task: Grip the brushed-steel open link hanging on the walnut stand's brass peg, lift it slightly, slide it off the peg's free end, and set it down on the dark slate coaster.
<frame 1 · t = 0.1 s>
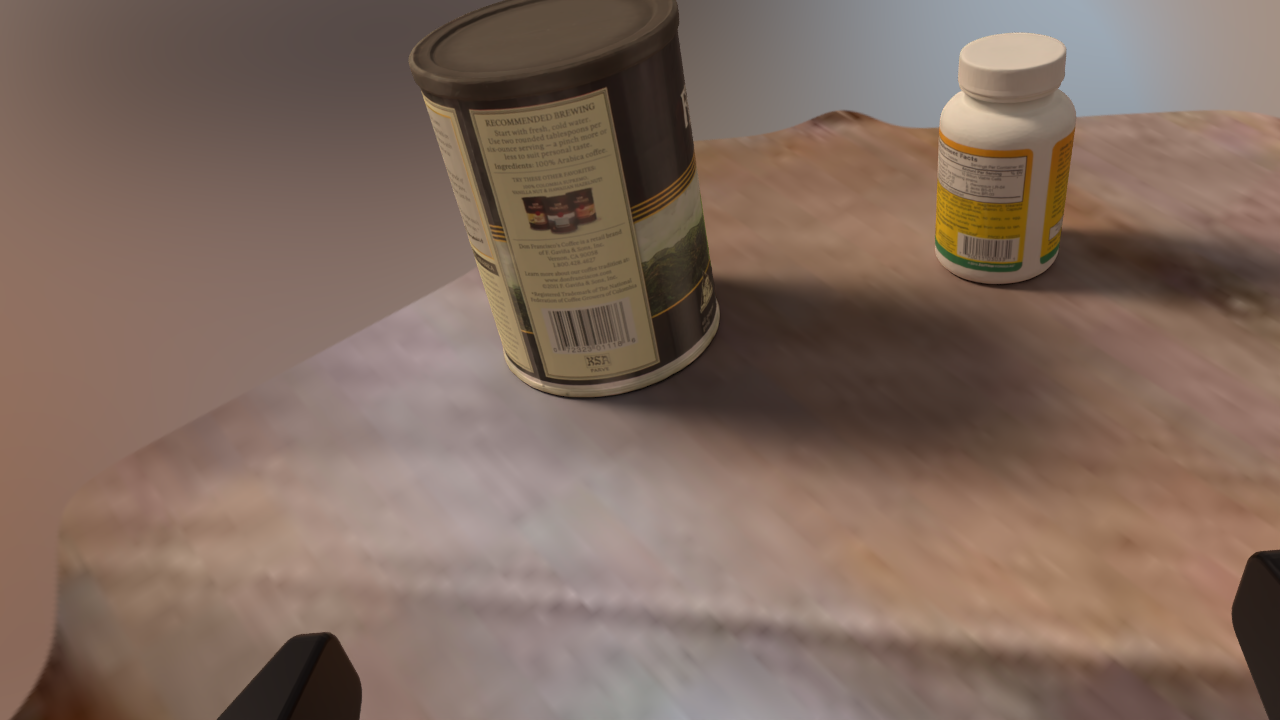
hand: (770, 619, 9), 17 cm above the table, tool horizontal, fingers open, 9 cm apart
supplement bottle: (995, 259, 43), on the table
coffee can: (610, 332, 44), on the table
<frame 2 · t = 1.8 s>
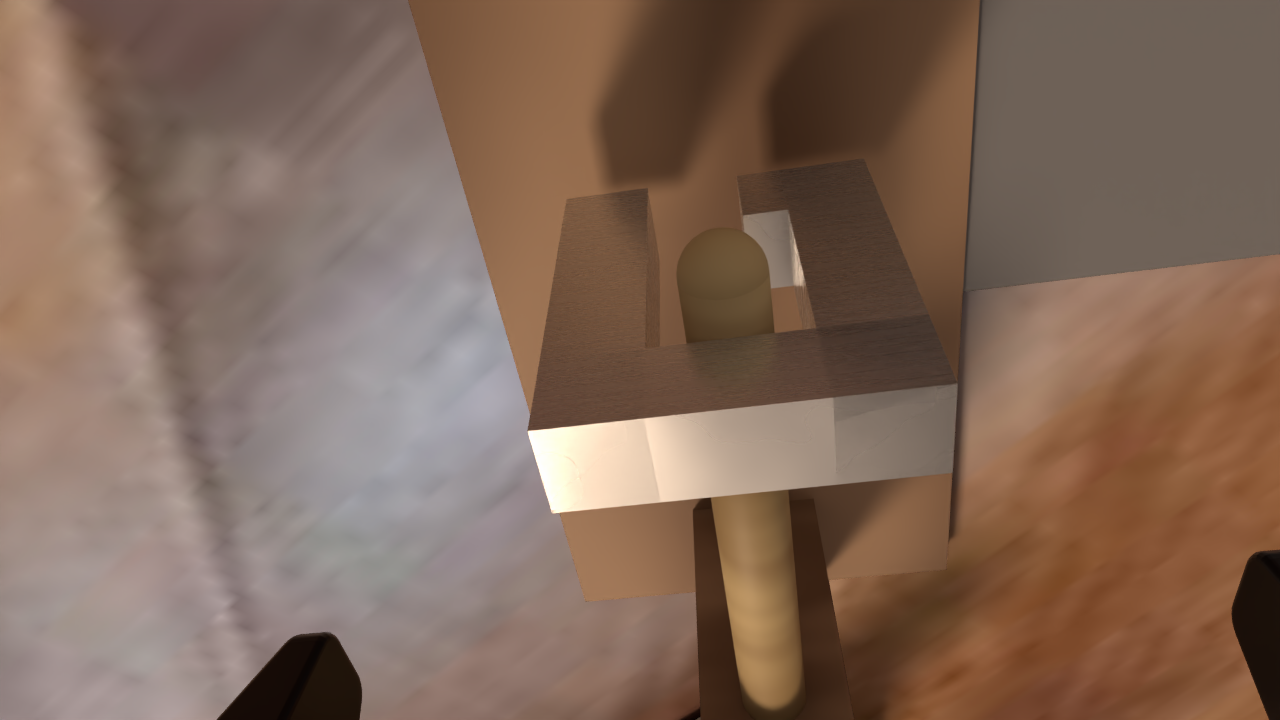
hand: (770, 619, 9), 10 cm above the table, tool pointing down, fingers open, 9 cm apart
link stand: (731, 328, 19), on the table
slate coaster: (1180, 28, 16), on the table
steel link: (717, 215, 16), point 2 cm above the table, touching link stand
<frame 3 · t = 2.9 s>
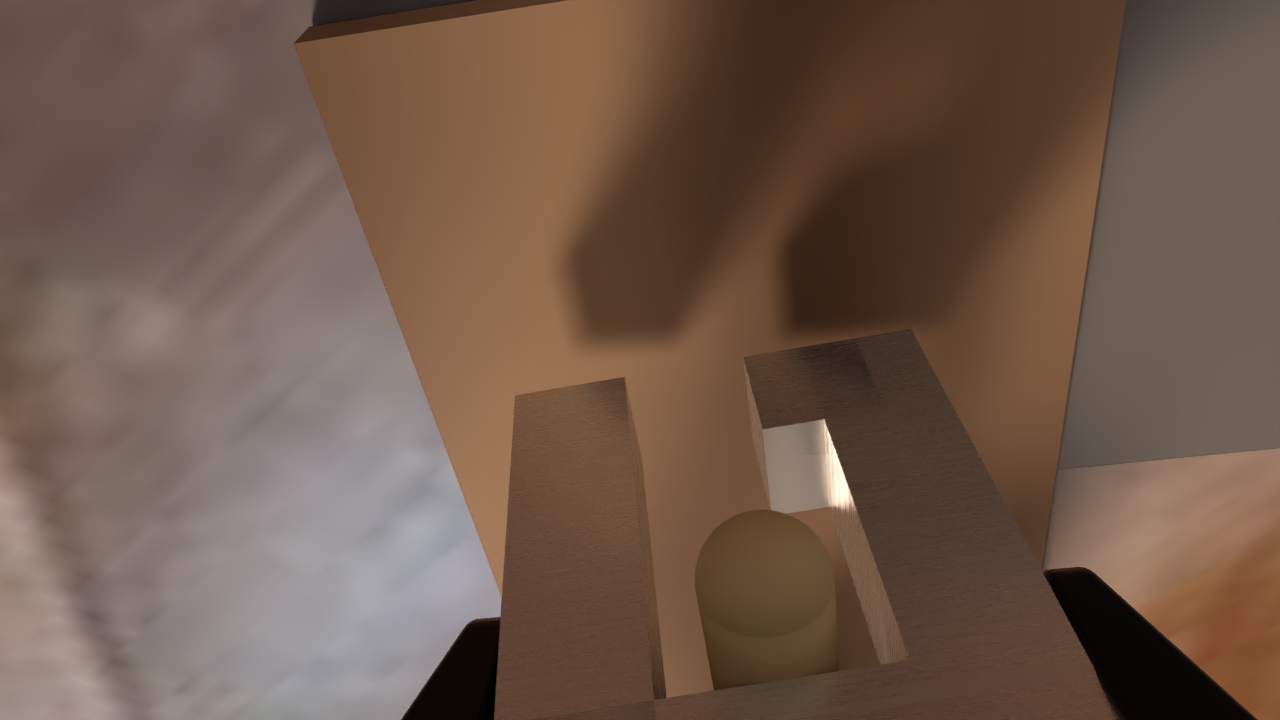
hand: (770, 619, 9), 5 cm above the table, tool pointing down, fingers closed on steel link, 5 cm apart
link stand: (756, 502, 15), on the table
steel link: (717, 405, 12), point 2 cm above the table, tilted 5°, touching gripper, link stand
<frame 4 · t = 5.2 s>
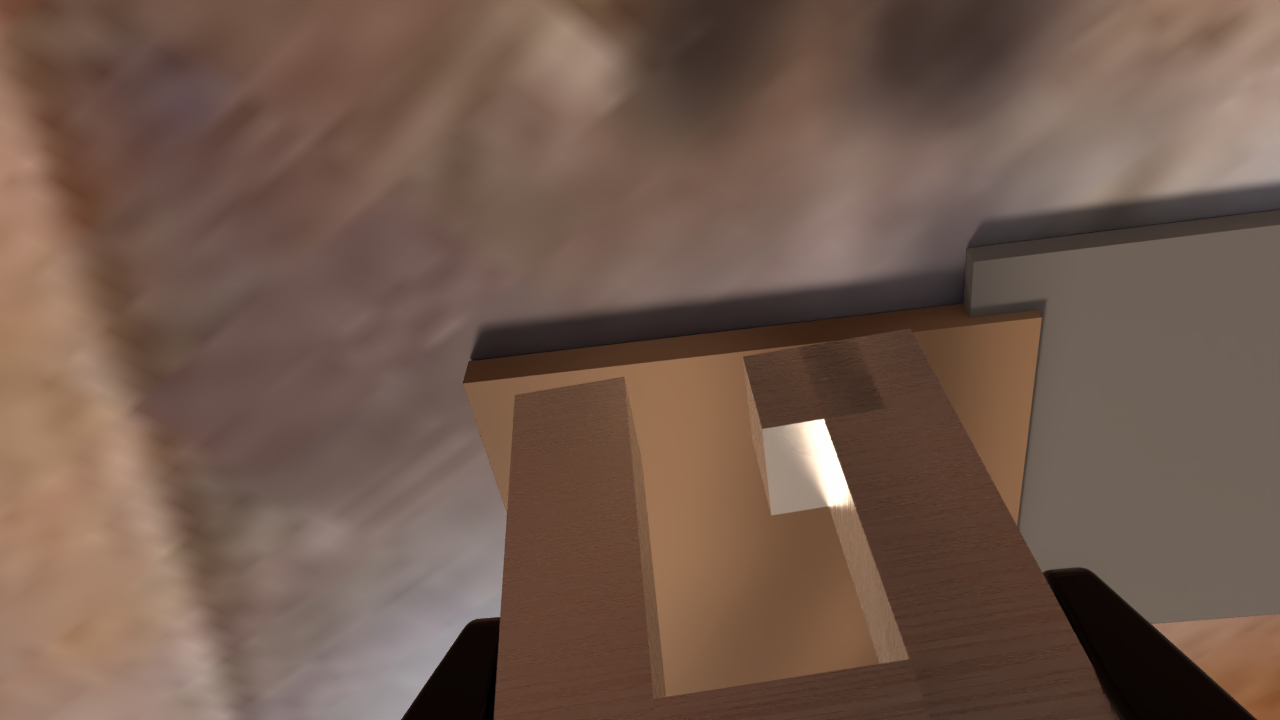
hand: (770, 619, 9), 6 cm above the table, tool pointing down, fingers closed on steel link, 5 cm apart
link stand: (776, 651, 20), on the table
slate coaster: (1219, 439, 16), on the table
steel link: (717, 404, 12), point 3 cm above the table, tilted 5°, touching gripper
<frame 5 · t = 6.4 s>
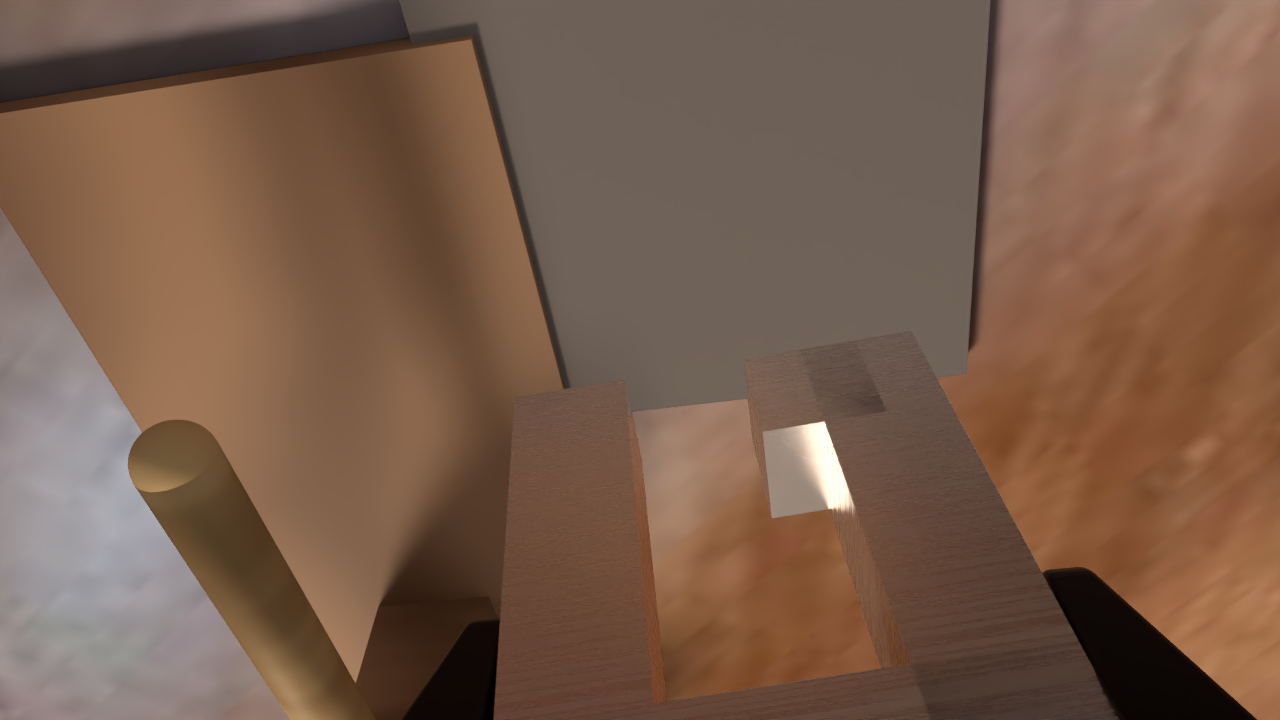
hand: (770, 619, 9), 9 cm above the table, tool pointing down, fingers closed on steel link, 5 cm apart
link stand: (378, 445, 21), on the table
slate coaster: (716, 192, 17), on the table
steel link: (717, 407, 12), point 6 cm above the table, touching gripper
when the fingers open (5 cm above the table, at t = 7.5 s): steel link drops 1 cm, resting on slate coaster.
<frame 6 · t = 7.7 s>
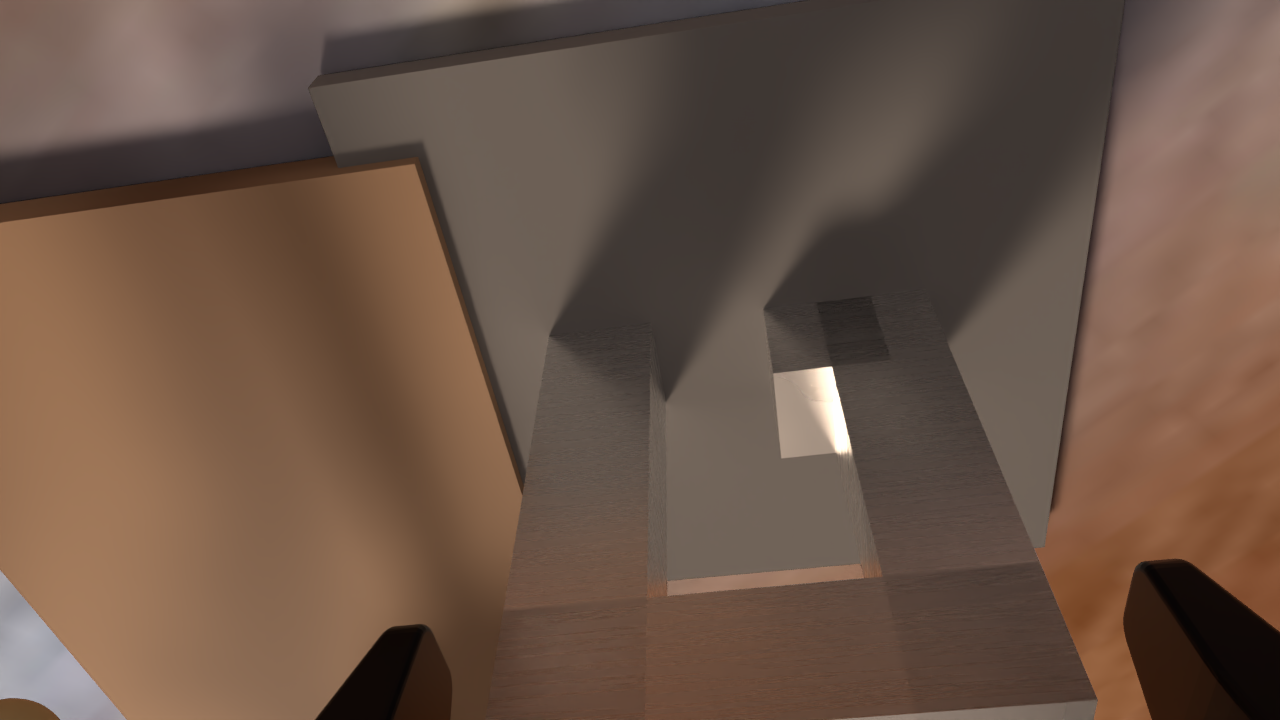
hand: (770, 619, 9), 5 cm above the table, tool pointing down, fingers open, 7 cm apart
link stand: (322, 612, 17), on the table
slate coaster: (736, 339, 13), on the table
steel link: (738, 354, 13), resting on slate coaster
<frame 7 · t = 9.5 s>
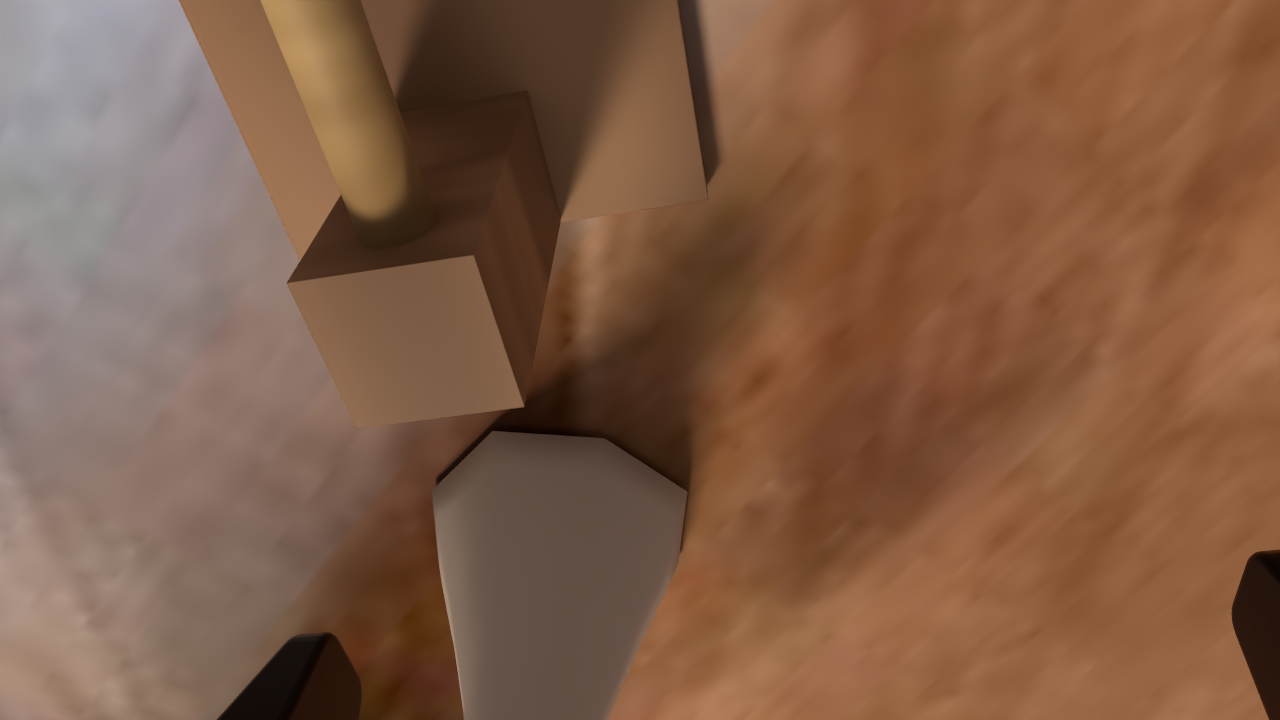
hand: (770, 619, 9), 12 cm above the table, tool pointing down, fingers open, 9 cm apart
flask: (560, 515, 26), on the table
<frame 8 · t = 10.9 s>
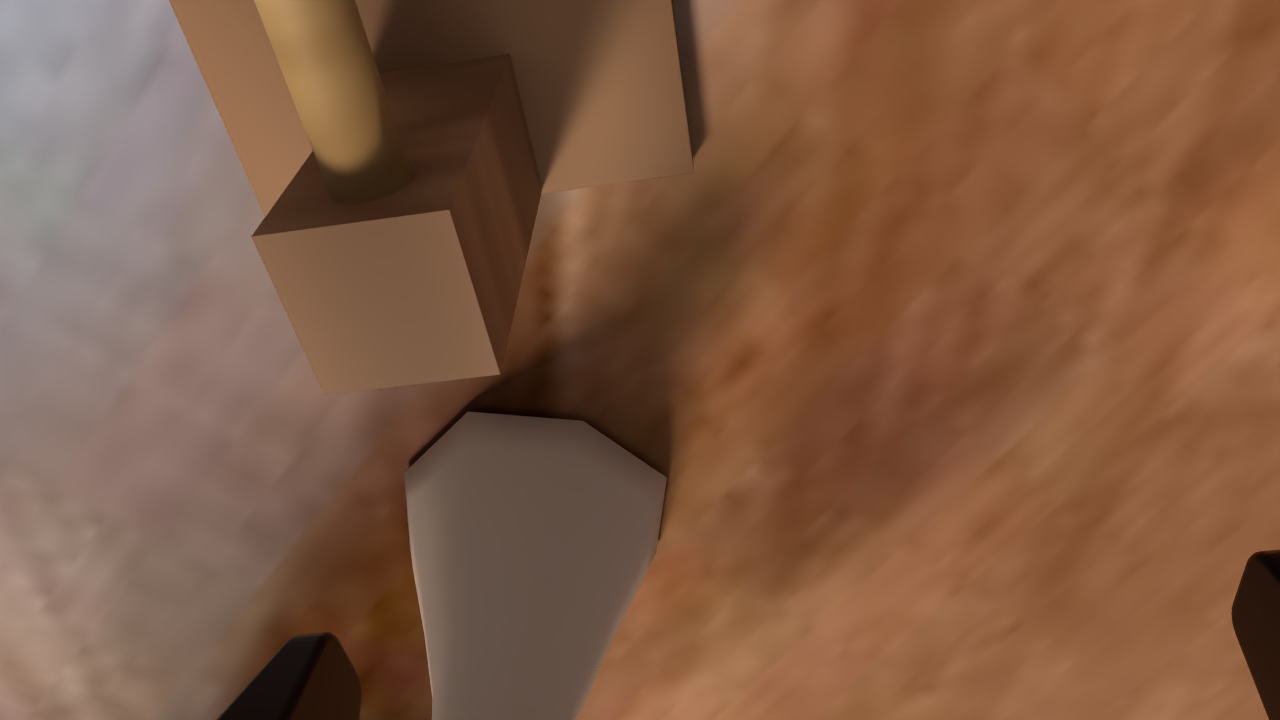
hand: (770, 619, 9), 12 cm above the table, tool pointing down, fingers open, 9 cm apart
flask: (536, 500, 26), on the table
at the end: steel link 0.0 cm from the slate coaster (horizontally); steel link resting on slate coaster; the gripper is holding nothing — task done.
